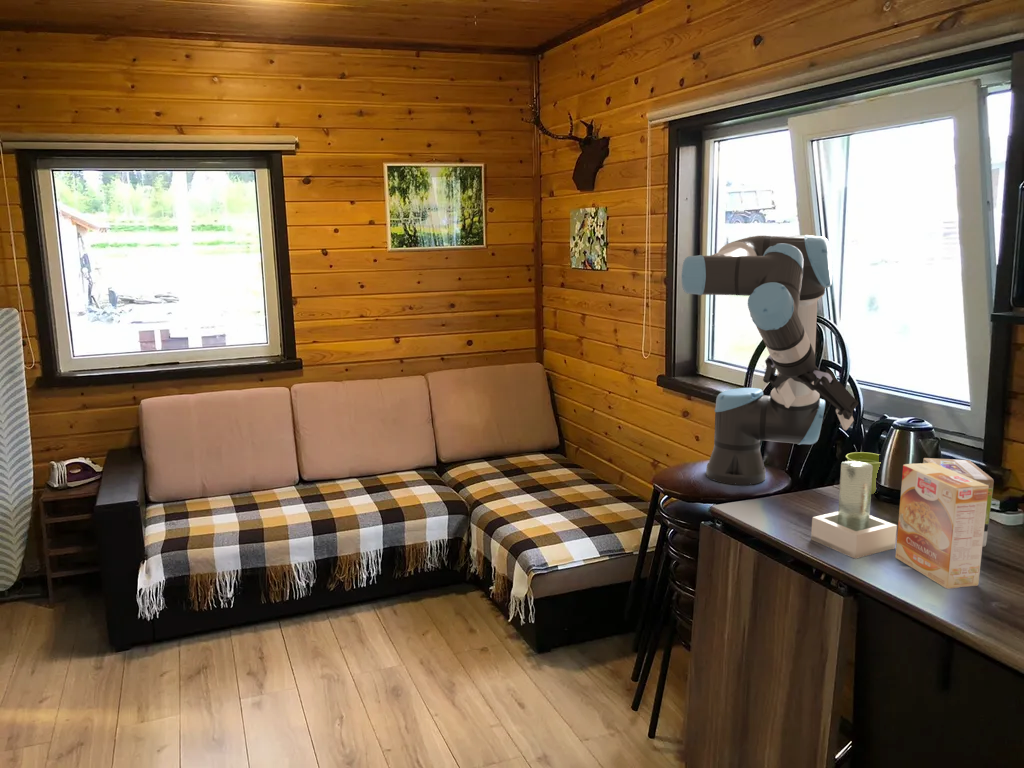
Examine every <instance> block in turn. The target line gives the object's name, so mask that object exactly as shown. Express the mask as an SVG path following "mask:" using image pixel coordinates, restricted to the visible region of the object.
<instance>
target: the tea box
mask: <svg viewBox="0 0 1024 768" xmlns="http://www.w3.org/2000/svg"><path fill="white" fill-rule="evenodd" d="M922 463H935V464H938V465H940V466H942V467H945V468H947V469H950V470H952V471H954V472H957V473H959V474H962V475H964V476H966V477H969V478H971V479H974V480H976V481H978V482H981V483H983V484H986V485H989V488H988V497H987V507H986V517H985V526H984V536H983V545H982V548H984V547H986V545H987V541H988V535H989V534H988V533H989V532H988V531H989V524H990V515H991V508H992V498H993V493H994V483H995V481H994V480H995V479H994V478H992V477H991V476H990V475H989V474H988V473H986V472H985V471H983V469H981V468H980V467H979V466H978V465H976V464H975V463H974V462H972V461H971V460H969V459H968V460H966V459H953V458H952V459H950V458H930V457H924V458H923V461H922Z"/></svg>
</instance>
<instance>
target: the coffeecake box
mask: <svg viewBox="0 0 1024 768" xmlns="http://www.w3.org/2000/svg"><path fill="white" fill-rule="evenodd" d="M901 476H902V477H901V488H900V499H899V509H898V510H899V511H898V513H899V514H898V524H897V532H896V544H895V557H894V558H895V559H896V560H898V561H901V562H902V563H904V564H905V565H907V566H909V567H910V568H912V569H914V570H916V571H917V572H919V573H920V574H921V575H924V577H926V578H928V579H930V580H932V582H935V583H937V584H938V585H940V586H942V587H943V588H944V589H947V590H948V589H949V590H950V589H958V588H965V587H969V588H970V587H976V586H977V587H978V585H979V582H980V573H981V572H980V571H981V564H982V563H981V562H982V553H983V547H982V545H983V536H984V526H985V517H986V507H987V497H988V488H989V485H986V484H983V483H981V482H978V481H976V480H974V479H971V478H969V477H966V476H964V475H962V474H959V473H957V472H954V471H952V470H950V469H947V468H945V467H942V466H940V465H938V464H935V463H923V462H922V463H921V462H920V463H914V462H912V463H905V464H903V465H902V475H901Z"/></svg>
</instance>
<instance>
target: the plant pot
mask: <svg viewBox="0 0 1024 768" xmlns="http://www.w3.org/2000/svg"><path fill="white" fill-rule="evenodd" d="M879 455H880V454H878V453H873V452H864V451H860V452H857V451H855V452H850V453H847V454H846V455H845V459H847V460H846V461H860V462H865V463H869V464H871V465H872V466H873V470H872V486H871V495H874V493H875V491H876V478H877V473H878V470H879V467H880V464H881V462H879ZM875 494H876V493H875Z"/></svg>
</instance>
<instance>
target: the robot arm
mask: <svg viewBox="0 0 1024 768" xmlns="http://www.w3.org/2000/svg"><path fill="white" fill-rule="evenodd" d="M832 263H833V261H832V253H831V246H830V242H829V240H828V238H826V237H825V236H821V235H809V234H804V235H803V234H801V235H800V234H797V235H796V234H795V235H793V234H792V235H788V234H787V235H755V236H749V237H745V238H741V239H737V240H734V241H731V242H729V243H727V244H725V245H723V246H722V247H721V248H720V249H719V250H718V252H716V253H713V254H712V255H703V254H702V255H701V254H699V255H689V256H686V257H685V258H684V260H683V263H682V268H681V287H682V291H683V292H684V293H686V294H688V295H697V296H702V295H704V296H705V295H707V296H708V295H709V296H713V295H715V296H717V295H718V296H748V299H747V308H748V310H749V313H750V317H751V320H752V322H753V323H754V325H755V327H756V329H757V330H758V332H759V334H760V336H761V338H762V341H763V343H764V345H765V347H766V348H767V352H768V353H769V355H768V356H767V358H766V359H765V360H764V362H765V365H766V367H765V368H766V369H765V372H764V374H763V375H764V376H763V380H762V381H763V382H764V383H766V384H768V383H770V384H771V386H772V387H773V388H772V390H771V391H770V395H765V394H764V392H763V389H761V388H759V387H758V388H757V387H738V388H732V389H728V390H727V389H726V390H723V391H721V392H720V393H718V395H717V396H716V398H715V399H716V400H715V407H714V416H715V417H714V419H715V420H714V436H713V437H714V441H713V442H714V444H713V450H712V451H711V455H710V457H709V461H708V462H707V465H706V473H705V475H706V477H707V478H708V479H711V480H712V481H715V482H719V483H721V484H722V483H723V484H726V485H727V484H729V485H737V486H740V485H741V486H743V485H744V486H747V485H757V484H759V483H762V482H764V481H765V480H766V475H767V474H766V473H767V472H766V467H765V464H764V460H763V455H762V453H761V441H765V442H775V443H787V444H788V443H789V444H797V445H799V446H800V445H814V444H816V443H817V442H818V440H819V438H820V435H821V430H822V424H823V419H824V413H825V409H826V401H827V402H829V403H830V404H831V405H832V406H833V407H834V408H835V414H836V415H837V418H838V420H839V422H840V424H841V427H842V429H843V430H844V431H847V430H848V429H849V428H850V426H851V425H852V424H853V422H854V421H855V420H854V419H855V418H854V416H853V415H854V412H853V411H854V410H855V409H856V408H857V406H858V405H859V401H857V399H856V398H855V397H854V396H853V395H852V393H850V392H849V391H848V389H846V387H845V386H844V385H843V384H842V383H841V382H840V381H839V380H838V379H837V378H836V376H835V373H834V372H833V371H832V370H831V369H826V371H825V372H824V371H821V370H820V369H819V368H818V367H817V365H816V341H817V340H816V339H817V318H818V317H817V316H818V301H819V300H820V299H821V298H822V297H823V296H824V295H825V293H826V292H825V291H826V289H827V288H830V287H831V286H832V284H833V264H832ZM776 372H777V374H776ZM775 374H776V375H775ZM820 396H822V397H823V398H824V399H822V398H820Z"/></svg>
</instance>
